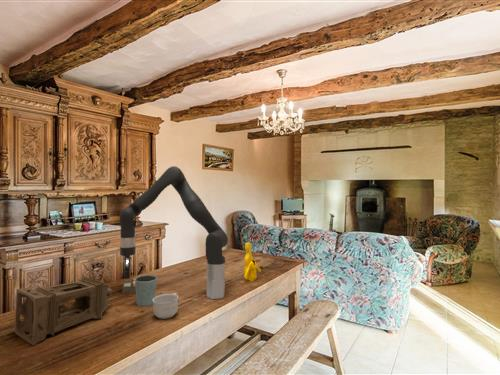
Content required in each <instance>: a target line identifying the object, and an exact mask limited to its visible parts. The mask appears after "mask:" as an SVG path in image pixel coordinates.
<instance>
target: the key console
mask: <svg viewBox="0 0 500 375" xmlns="http://www.w3.org/2000/svg"><path fill="white" fill-rule="evenodd" d="M135 278H136V277H133V279H125V280H123V281H122V285H121V286H122V287H121V294H129V293H131V294H132V293H136V288H135V286H133V281H135ZM125 283H131V287H124V284H125Z"/></svg>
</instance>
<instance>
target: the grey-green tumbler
mask: <svg viewBox="0 0 500 375" xmlns="http://www.w3.org/2000/svg"><path fill="white" fill-rule="evenodd" d="M134 278H135V288H136V292H135V295H136V296H135V304H136V305H137V306H138V307H149V306H151V305H152V306H153V298H155V297H156V292H157V291H156V290H157V282H158V277H157V275H154V274H143V275H139V276H136V277H134Z"/></svg>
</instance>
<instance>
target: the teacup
mask: <svg viewBox="0 0 500 375" xmlns="http://www.w3.org/2000/svg"><path fill="white" fill-rule="evenodd" d="M178 308H179V294H178V293H177V292H173V293H163V294H160V295H155V298H153V304H152V311H153V314H154V315H155V317H157V318H158V319H163V320H165V319H170V318H172V317H174V316H175V314H177V313H178V310H179V309H178Z"/></svg>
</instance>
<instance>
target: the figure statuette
mask: <svg viewBox="0 0 500 375" xmlns="http://www.w3.org/2000/svg"><path fill="white" fill-rule="evenodd" d="M244 249H245V256H244V260H243V262H244V263H243V264H244V271H243V276H244V277H243V278H244V280H246V281H250V282H254V281H256V280H257V272H258V273H260V272H262V270H261V268H260V267H259V265H258V264H257V261H256V260H255V259H254V257H253V254H252V242H245V244H244Z"/></svg>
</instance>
